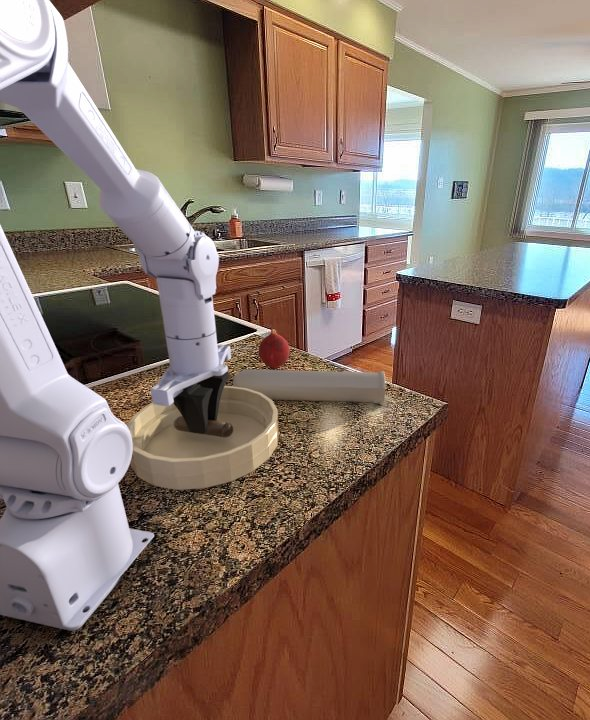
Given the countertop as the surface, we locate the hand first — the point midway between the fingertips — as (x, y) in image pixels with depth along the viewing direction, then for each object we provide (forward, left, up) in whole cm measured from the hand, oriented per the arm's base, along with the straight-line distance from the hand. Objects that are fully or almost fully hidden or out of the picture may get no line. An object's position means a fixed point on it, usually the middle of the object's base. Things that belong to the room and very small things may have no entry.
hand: (203, 426), depth 54 cm
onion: (+25, 0, -2) cm, 25 cm away
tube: (+15, -10, -2) cm, 18 cm away
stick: (0, 0, -1) cm, 1 cm away
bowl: (-1, -1, -2) cm, 3 cm away
